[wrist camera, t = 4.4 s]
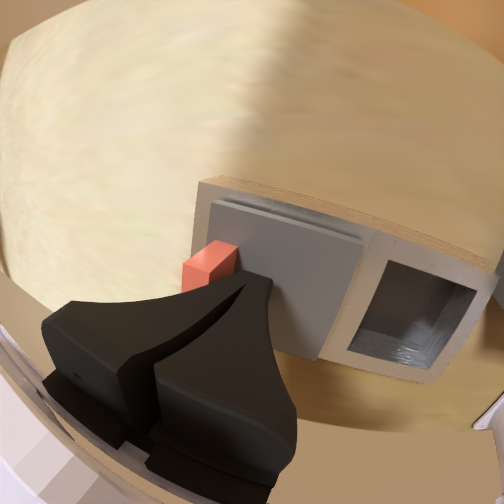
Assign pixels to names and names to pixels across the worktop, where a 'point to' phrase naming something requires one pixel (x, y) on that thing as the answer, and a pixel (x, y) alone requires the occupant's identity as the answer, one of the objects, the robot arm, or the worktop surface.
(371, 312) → the socket
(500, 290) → the grey block
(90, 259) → the worktop surface
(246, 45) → the worktop surface
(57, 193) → the worktop surface
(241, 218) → the shutter
